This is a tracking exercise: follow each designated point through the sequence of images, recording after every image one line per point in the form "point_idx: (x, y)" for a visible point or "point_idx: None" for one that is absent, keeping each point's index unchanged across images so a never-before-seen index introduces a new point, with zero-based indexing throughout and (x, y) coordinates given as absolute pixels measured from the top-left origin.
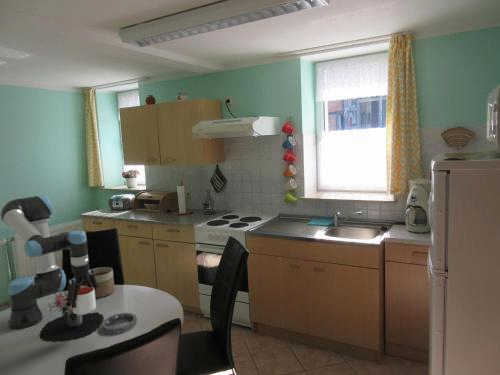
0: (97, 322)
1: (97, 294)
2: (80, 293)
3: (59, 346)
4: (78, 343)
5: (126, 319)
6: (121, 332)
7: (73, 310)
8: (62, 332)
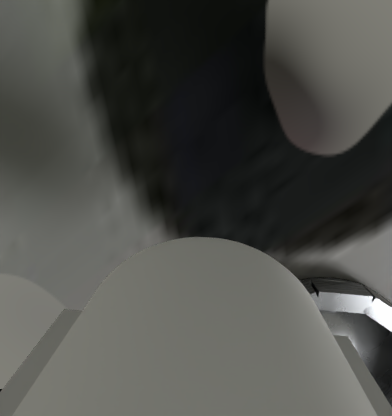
0: (343, 211)
1: None
2: (328, 402)
3: (52, 168)
4: (106, 253)
5: (375, 371)
6: None
7: (45, 339)
8: (193, 57)
